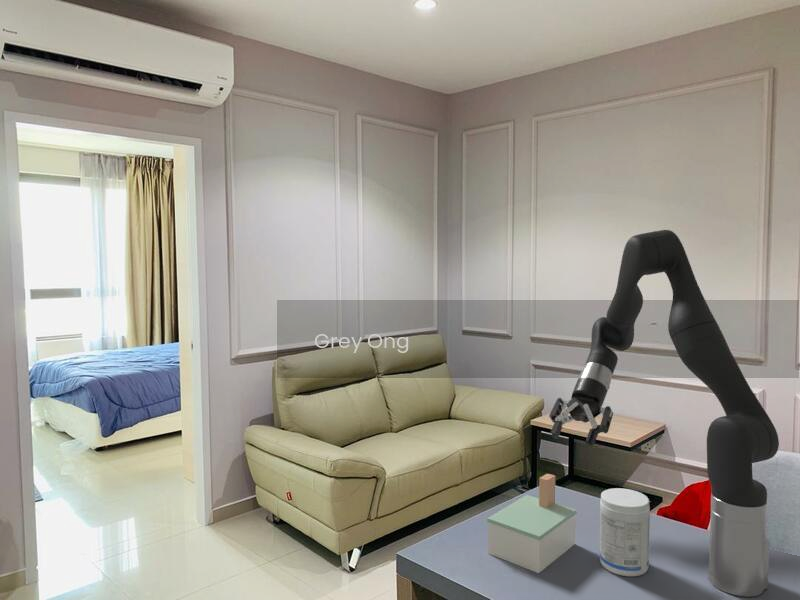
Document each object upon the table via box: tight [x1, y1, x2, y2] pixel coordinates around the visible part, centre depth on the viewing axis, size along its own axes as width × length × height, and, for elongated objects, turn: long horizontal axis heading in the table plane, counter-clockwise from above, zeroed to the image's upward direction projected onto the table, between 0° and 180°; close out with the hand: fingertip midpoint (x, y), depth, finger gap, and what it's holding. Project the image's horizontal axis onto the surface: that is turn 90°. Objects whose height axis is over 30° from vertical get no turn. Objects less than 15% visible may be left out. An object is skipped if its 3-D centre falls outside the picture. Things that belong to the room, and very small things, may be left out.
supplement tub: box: [599, 487, 651, 577], centre depth 121 cm, size 10×10×15 cm
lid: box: [486, 473, 578, 540], centre depth 128 cm, size 16×12×8 cm
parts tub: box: [488, 514, 576, 574], centre depth 129 cm, size 16×12×7 cm
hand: (570, 441), depth 141 cm, fingers open, 8 cm apart
